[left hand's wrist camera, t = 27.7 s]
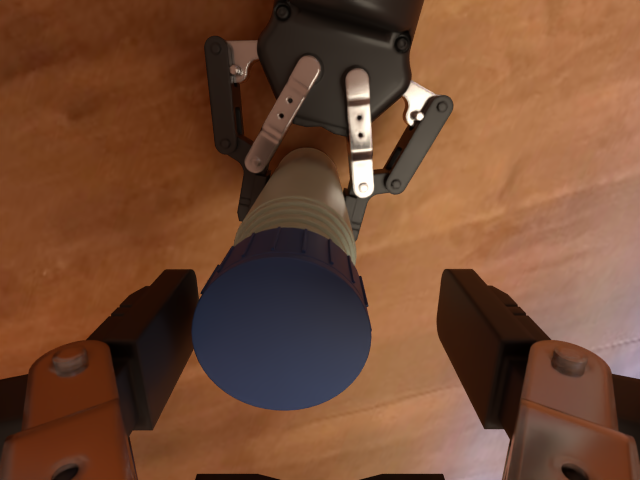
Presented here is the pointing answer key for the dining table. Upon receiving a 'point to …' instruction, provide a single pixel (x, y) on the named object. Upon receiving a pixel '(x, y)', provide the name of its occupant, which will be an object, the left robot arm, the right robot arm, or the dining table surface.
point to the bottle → (303, 200)
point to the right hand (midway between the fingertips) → (295, 237)
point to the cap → (283, 321)
